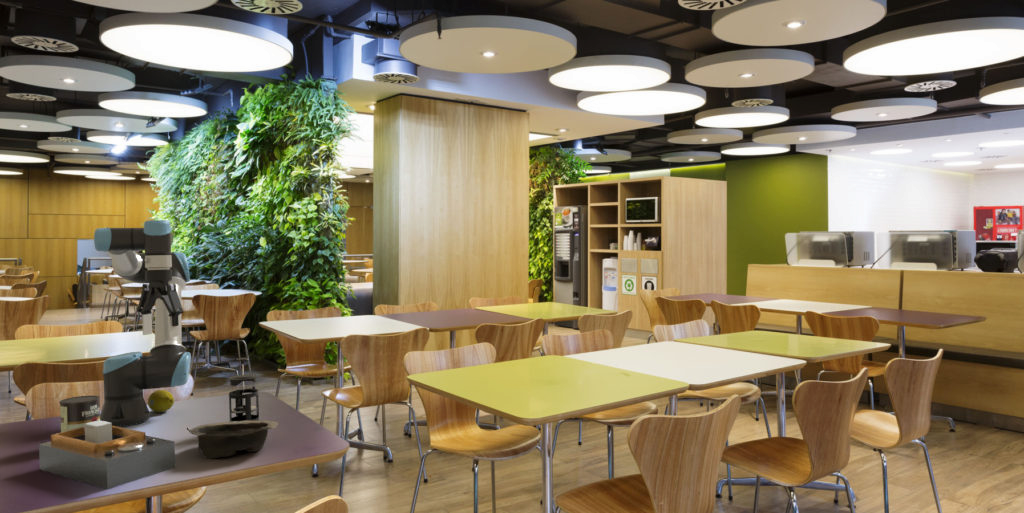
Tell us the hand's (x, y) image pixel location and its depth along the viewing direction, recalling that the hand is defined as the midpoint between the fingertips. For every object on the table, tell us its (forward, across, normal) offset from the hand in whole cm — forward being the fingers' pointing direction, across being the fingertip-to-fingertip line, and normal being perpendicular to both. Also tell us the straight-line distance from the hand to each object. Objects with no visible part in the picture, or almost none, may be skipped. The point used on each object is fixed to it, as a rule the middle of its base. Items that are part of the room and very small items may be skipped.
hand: (160, 335), depth 211 cm
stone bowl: (+32, +34, 0) cm, 47 cm away
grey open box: (+32, +17, -27) cm, 45 cm away
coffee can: (+32, -13, -18) cm, 39 cm away
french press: (+32, +17, +17) cm, 40 cm away
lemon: (+32, -29, +18) cm, 47 cm away
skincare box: (+32, +13, -27) cm, 44 cm away
